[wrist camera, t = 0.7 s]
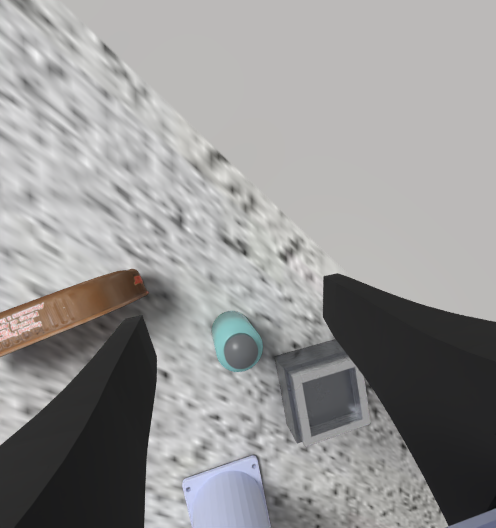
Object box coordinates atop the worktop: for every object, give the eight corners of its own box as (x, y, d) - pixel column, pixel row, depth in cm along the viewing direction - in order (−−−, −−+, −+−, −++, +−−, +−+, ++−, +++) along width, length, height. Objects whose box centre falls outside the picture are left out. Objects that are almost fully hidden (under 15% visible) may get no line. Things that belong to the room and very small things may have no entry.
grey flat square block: (351, 402, 32) (374, 426, 28) (286, 424, 31) (301, 452, 27) (341, 337, 31) (364, 352, 27) (274, 356, 30) (287, 374, 26)
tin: (-10, 355, 24) (-111, 412, 16) (-27, 323, 24) (-141, 365, 16) (156, 289, 27) (141, 309, 19) (143, 259, 26) (122, 266, 18)
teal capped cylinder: (253, 343, 29) (269, 368, 23) (215, 353, 28) (222, 382, 23) (246, 307, 29) (260, 323, 23) (208, 316, 28) (212, 335, 22)
